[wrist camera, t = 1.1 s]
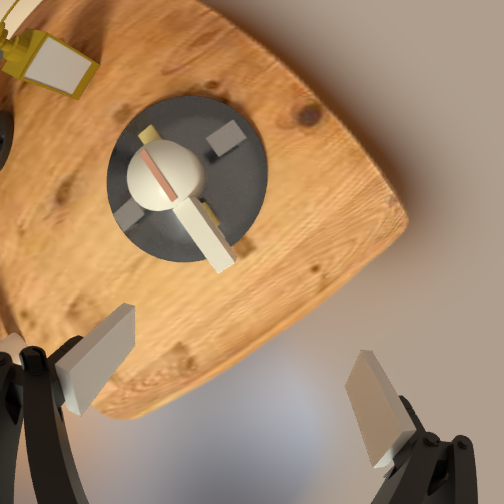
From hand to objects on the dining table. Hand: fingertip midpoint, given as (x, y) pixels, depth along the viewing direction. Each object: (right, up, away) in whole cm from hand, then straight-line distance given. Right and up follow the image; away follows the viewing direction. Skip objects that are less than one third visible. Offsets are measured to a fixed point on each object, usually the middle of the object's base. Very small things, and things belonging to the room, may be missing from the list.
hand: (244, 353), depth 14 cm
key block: (-8, +14, +22) cm, 27 cm away
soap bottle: (-29, +39, +18) cm, 52 cm away
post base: (-10, +16, +23) cm, 29 cm away
